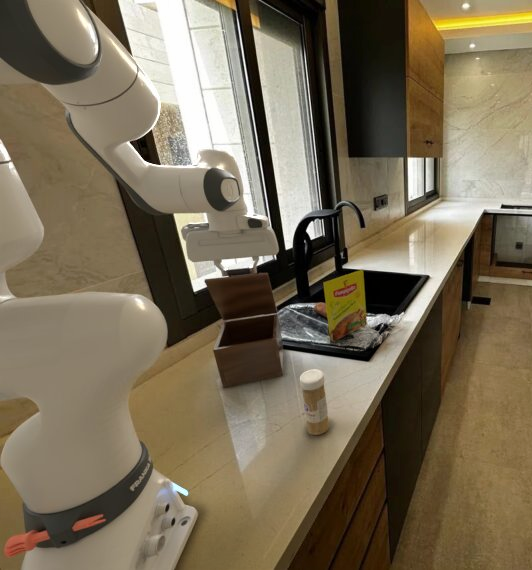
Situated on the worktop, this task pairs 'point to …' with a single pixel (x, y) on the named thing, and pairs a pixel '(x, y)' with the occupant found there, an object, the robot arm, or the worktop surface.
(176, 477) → the worktop surface
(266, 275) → the lid
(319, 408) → the sprinkles bottle
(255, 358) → the chest
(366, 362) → the worktop surface
